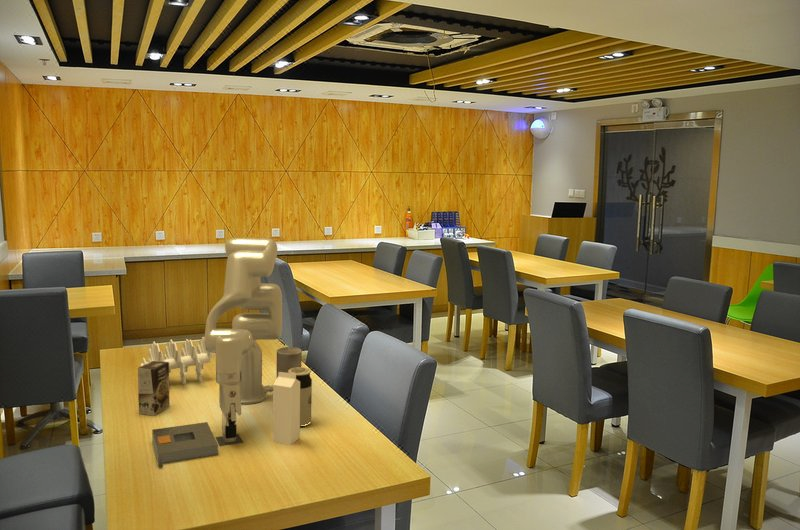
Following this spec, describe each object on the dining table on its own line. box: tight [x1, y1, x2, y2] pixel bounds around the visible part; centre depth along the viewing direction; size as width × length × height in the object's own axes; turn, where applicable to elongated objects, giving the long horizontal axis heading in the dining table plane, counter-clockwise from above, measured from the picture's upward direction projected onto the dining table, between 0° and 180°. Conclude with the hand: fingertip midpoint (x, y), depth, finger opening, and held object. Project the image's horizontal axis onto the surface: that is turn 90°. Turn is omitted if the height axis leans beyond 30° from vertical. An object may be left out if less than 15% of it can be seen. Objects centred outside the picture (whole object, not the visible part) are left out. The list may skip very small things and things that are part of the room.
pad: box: [214, 433, 244, 447], centre depth 190 cm, size 7×7×1 cm
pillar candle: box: [275, 346, 303, 379], centre depth 244 cm, size 10×10×15 cm
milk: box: [272, 372, 301, 446], centre depth 190 cm, size 6×6×22 cm
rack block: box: [151, 421, 219, 468], centre depth 184 cm, size 16×18×4 cm
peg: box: [221, 411, 236, 443], centre depth 189 cm, size 4×4×10 cm
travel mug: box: [288, 366, 313, 426], centre depth 205 cm, size 8×8×18 cm
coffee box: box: [137, 361, 171, 417], centre depth 213 cm, size 9×6×16 cm
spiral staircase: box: [139, 336, 215, 386], centre depth 239 cm, size 18×18×25 cm
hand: (229, 434), depth 189 cm, fingers closed on peg, 4 cm apart
